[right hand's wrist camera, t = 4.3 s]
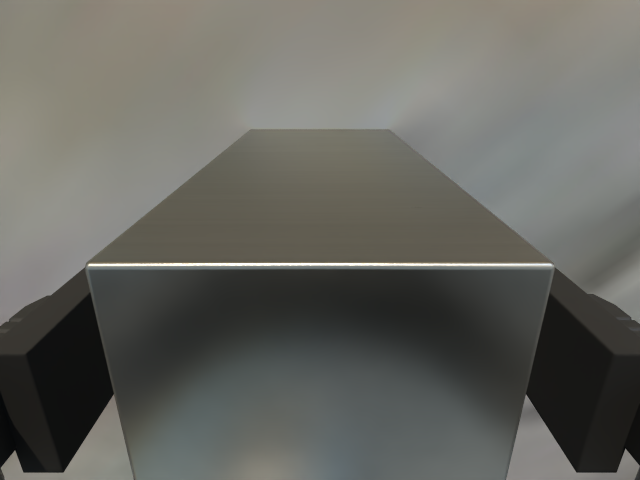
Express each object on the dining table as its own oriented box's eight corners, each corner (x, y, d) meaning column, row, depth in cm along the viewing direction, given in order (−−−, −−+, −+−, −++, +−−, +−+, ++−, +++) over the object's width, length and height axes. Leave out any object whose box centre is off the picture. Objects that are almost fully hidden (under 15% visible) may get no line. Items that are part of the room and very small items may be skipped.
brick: (249, 129, 15) (80, 263, 4) (390, 129, 15) (559, 263, 4) (260, 308, 18) (171, 655, 7) (379, 308, 18) (467, 655, 7)
